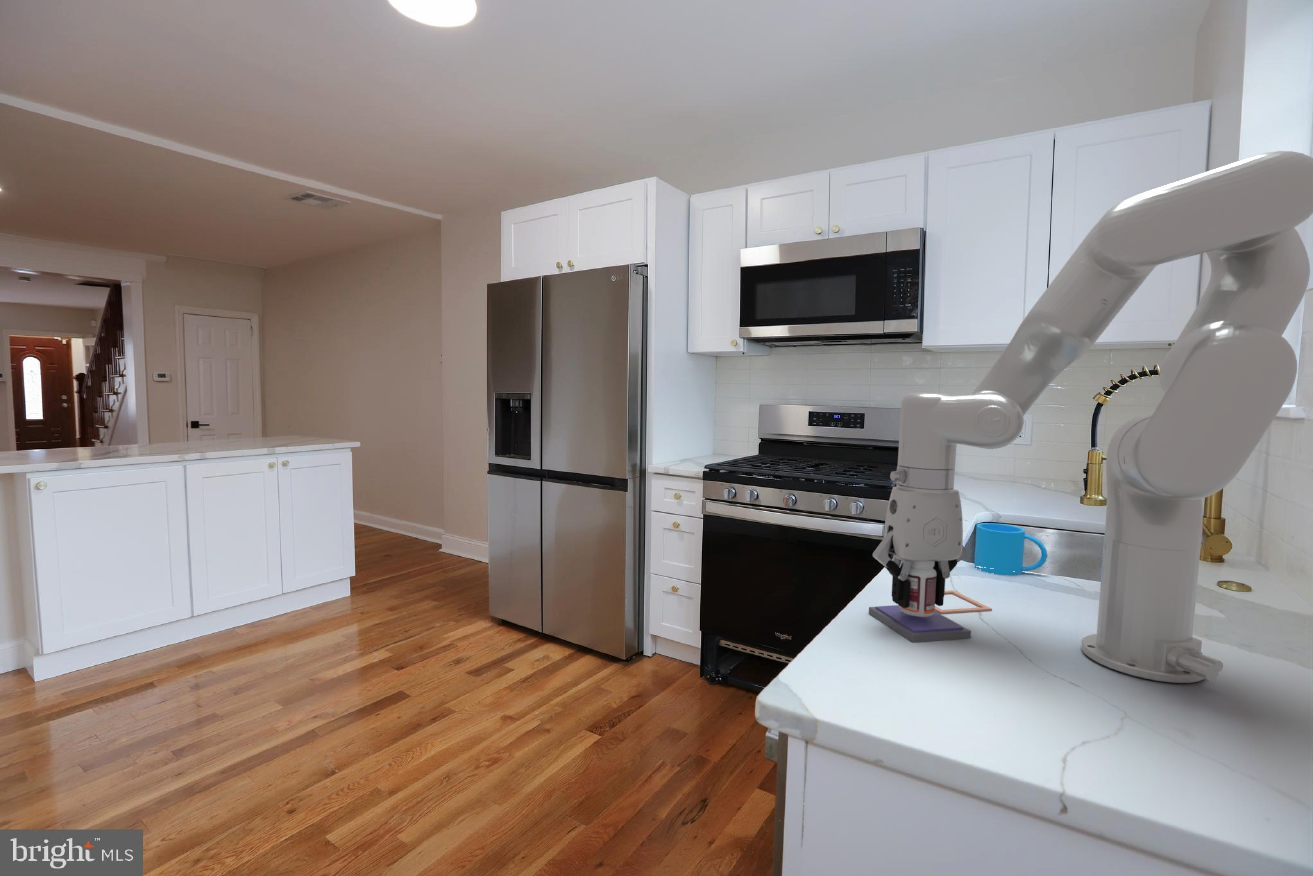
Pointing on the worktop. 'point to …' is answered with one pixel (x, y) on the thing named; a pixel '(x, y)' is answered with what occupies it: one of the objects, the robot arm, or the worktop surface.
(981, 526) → the mug
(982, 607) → the open rectangular frame
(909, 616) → the ink pad
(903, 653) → the worktop surface
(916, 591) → the pill bottle
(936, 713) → the worktop surface
